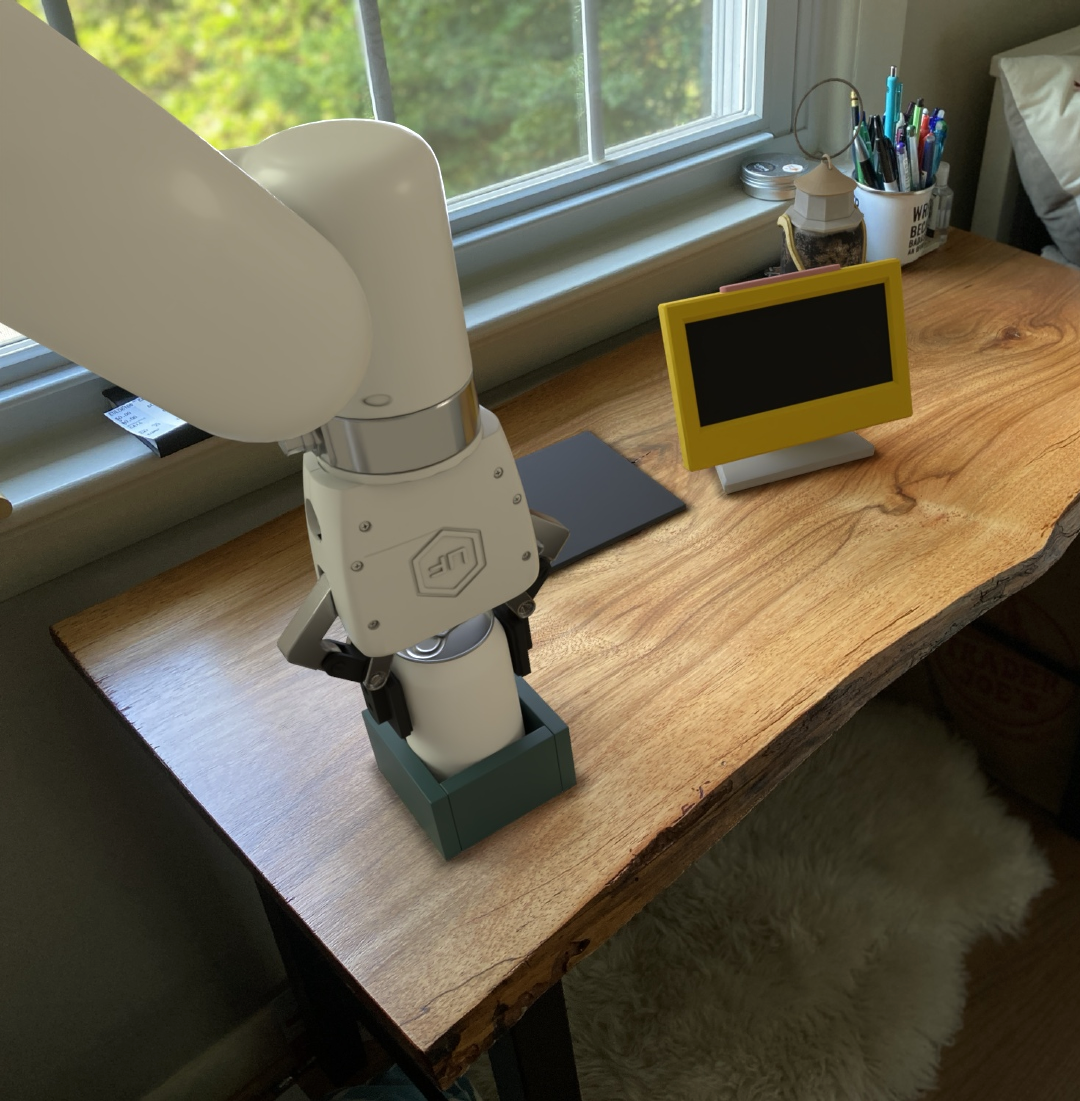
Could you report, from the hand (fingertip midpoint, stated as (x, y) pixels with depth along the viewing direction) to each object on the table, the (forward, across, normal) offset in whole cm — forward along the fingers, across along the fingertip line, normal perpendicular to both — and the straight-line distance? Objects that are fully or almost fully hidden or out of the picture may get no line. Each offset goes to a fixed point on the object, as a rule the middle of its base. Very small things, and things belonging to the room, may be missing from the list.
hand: (455, 689), depth 61 cm
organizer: (+7, 0, 0) cm, 7 cm away
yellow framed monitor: (+7, +37, +15) cm, 41 cm away
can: (+7, 0, 0) cm, 7 cm away
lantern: (+7, +52, +27) cm, 59 cm away
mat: (+7, +16, +21) cm, 27 cm away
